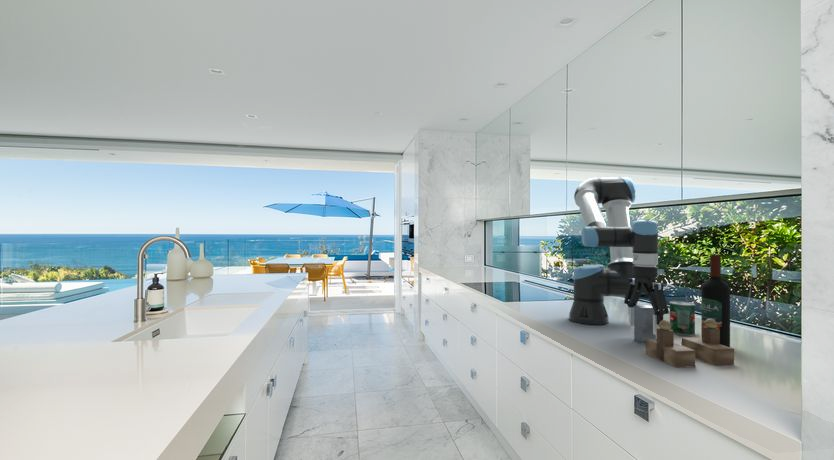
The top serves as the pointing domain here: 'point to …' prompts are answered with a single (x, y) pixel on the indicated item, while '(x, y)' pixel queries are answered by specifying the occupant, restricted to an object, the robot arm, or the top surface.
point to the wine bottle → (716, 301)
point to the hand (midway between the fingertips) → (645, 329)
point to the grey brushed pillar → (643, 323)
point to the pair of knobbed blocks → (690, 347)
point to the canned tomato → (682, 317)
